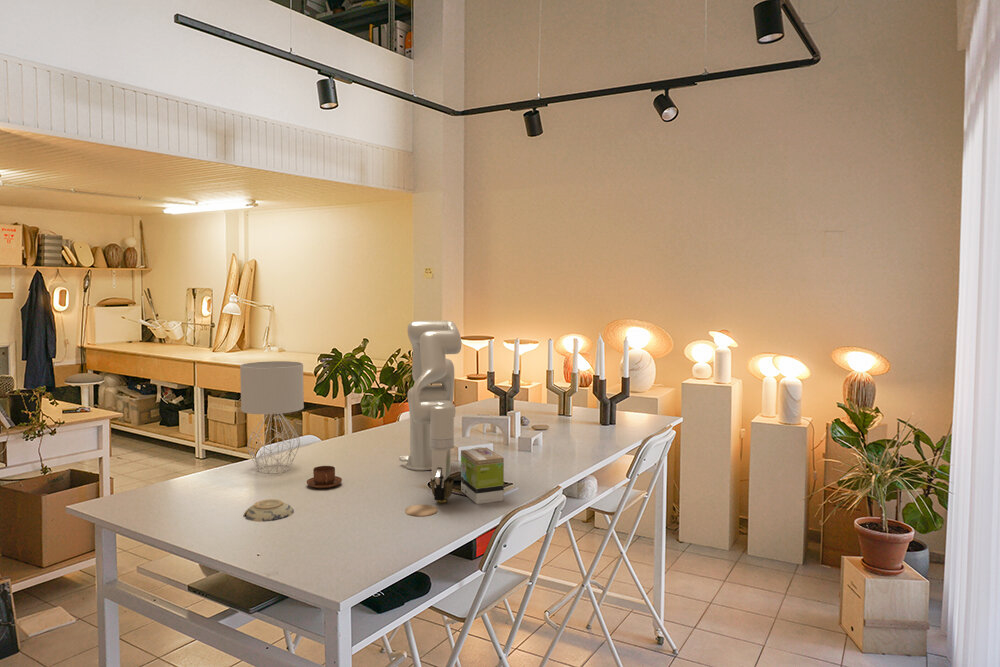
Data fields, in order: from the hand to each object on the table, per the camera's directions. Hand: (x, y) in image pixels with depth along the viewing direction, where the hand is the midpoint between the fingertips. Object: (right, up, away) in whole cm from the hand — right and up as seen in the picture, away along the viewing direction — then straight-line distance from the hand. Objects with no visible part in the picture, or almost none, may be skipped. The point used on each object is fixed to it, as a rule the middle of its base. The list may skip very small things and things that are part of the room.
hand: (442, 495), depth 227 cm
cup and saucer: (-43, -1, +19) cm, 47 cm away
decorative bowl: (-52, -4, -11) cm, 54 cm away
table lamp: (-67, +1, +39) cm, 77 cm away
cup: (0, -3, 0) cm, 3 cm away
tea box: (+13, -2, +7) cm, 15 cm away
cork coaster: (-6, -3, -8) cm, 11 cm away
